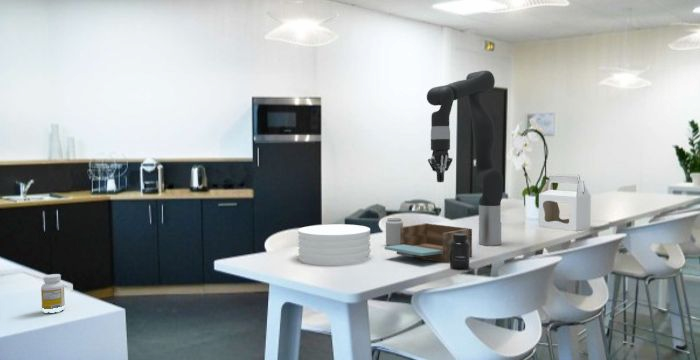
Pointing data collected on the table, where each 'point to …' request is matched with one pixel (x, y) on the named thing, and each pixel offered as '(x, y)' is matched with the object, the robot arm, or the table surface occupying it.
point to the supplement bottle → (459, 252)
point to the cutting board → (412, 250)
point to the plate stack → (334, 244)
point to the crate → (433, 239)
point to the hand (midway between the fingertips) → (440, 182)
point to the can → (393, 231)
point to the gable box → (577, 199)
